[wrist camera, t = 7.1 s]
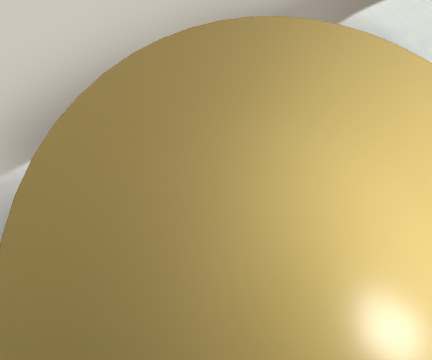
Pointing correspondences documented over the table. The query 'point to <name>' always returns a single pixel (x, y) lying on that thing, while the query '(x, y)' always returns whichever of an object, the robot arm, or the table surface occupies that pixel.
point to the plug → (231, 204)
